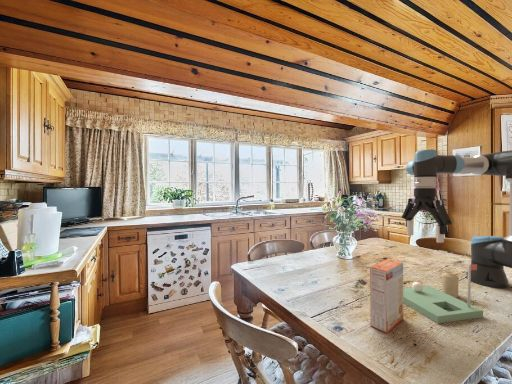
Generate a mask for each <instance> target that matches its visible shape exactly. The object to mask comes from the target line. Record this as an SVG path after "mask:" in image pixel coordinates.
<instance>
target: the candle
mask: <svg viewBox="0 0 512 384" xmlns="http://www.w3.org/2000/svg"><path fill="white" fill-rule="evenodd" d="M441 276H442V279H441V284H442V285H441V291H442V292H444V293H446V294H448V295H450V296H452V297H455V298H458V297H459V276H458V275H457V274H456V273H455V272H452V271H446V272H443V273H442V274H441Z"/></svg>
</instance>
